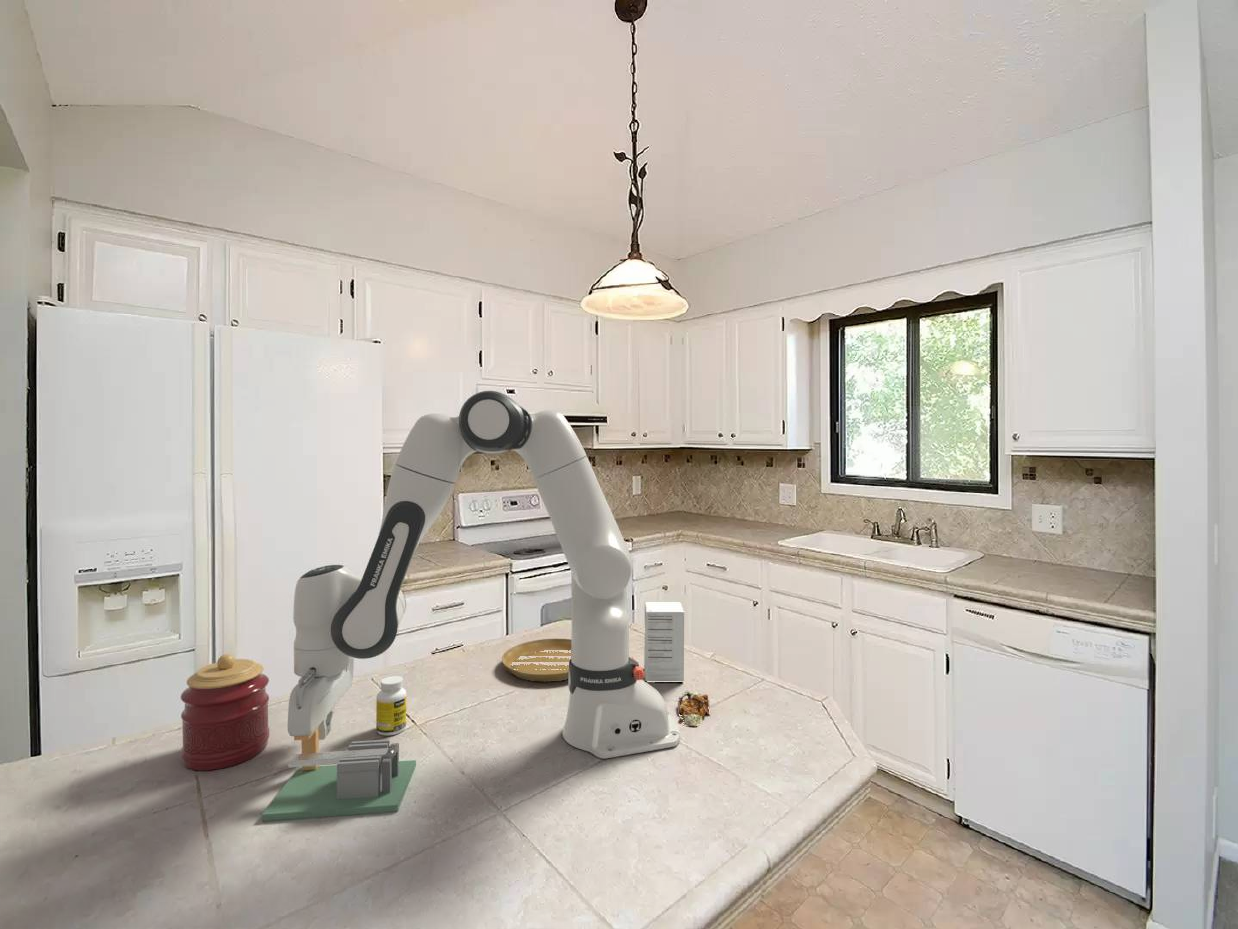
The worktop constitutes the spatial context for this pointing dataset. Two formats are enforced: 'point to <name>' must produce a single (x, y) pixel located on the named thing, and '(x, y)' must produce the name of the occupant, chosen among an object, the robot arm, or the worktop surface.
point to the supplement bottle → (391, 707)
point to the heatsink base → (325, 793)
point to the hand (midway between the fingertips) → (323, 735)
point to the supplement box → (664, 641)
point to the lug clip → (309, 746)
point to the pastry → (692, 708)
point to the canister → (224, 714)
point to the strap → (338, 756)
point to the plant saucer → (538, 660)
